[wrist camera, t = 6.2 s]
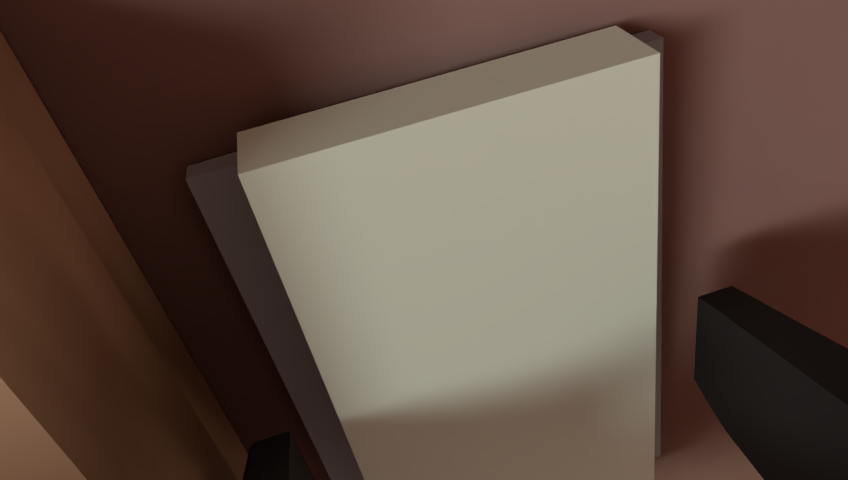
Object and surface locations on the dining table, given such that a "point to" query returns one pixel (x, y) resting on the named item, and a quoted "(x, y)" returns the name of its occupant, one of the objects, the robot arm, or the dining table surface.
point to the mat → (277, 318)
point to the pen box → (87, 329)
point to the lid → (479, 262)
